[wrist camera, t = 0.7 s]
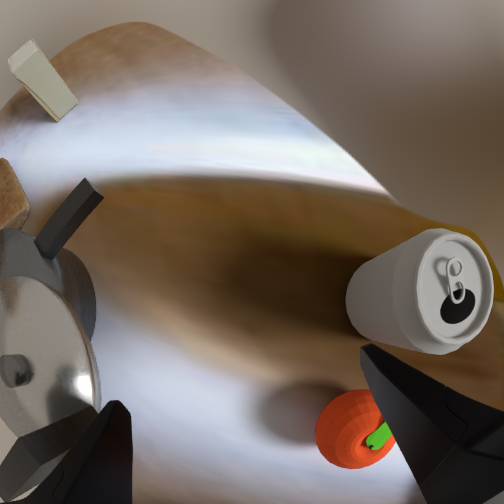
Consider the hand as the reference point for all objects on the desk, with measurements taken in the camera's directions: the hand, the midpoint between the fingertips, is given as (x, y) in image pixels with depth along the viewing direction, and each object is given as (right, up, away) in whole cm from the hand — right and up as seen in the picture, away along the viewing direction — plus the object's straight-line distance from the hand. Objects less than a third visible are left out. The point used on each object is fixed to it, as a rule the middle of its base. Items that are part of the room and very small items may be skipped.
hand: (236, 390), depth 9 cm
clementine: (+9, -10, +13) cm, 19 cm away
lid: (-16, -4, +7) cm, 18 cm away
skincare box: (-27, +26, +22) cm, 43 cm away
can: (+12, 0, +15) cm, 19 cm away
